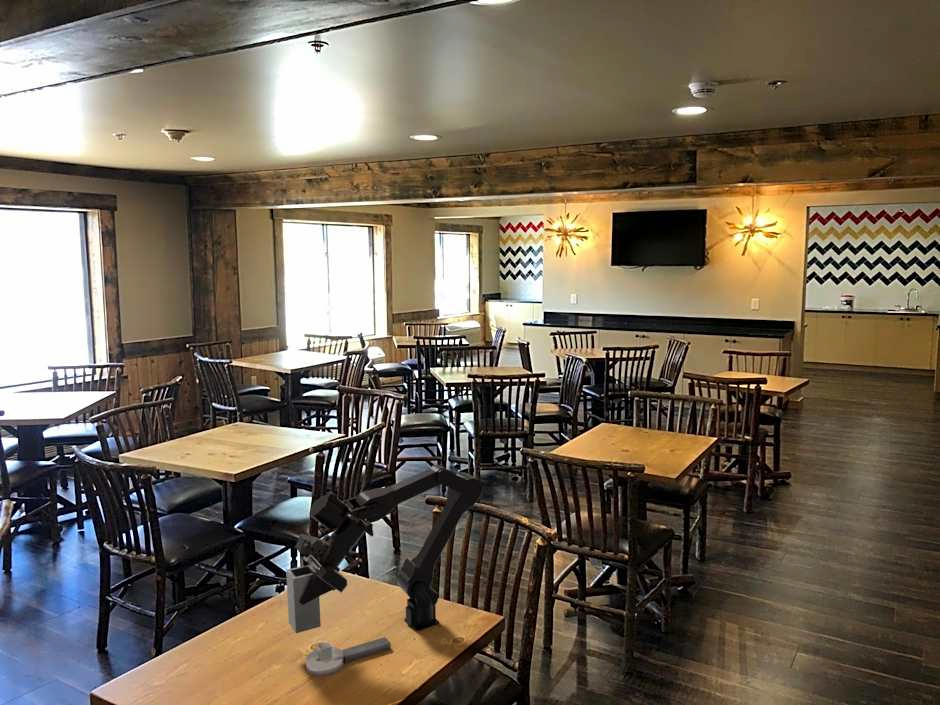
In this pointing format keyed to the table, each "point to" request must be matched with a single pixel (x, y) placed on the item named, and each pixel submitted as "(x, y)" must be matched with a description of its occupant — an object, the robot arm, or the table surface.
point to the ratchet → (341, 656)
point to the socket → (296, 587)
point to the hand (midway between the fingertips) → (297, 598)
